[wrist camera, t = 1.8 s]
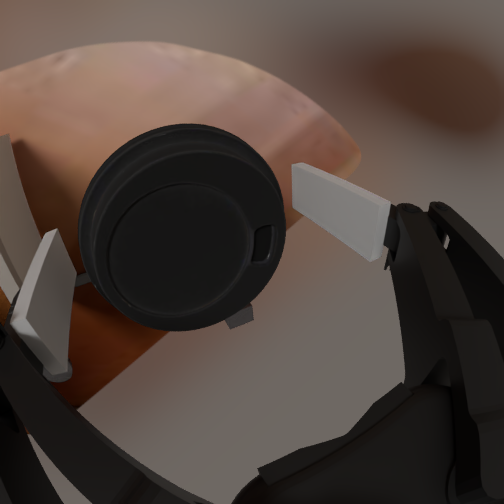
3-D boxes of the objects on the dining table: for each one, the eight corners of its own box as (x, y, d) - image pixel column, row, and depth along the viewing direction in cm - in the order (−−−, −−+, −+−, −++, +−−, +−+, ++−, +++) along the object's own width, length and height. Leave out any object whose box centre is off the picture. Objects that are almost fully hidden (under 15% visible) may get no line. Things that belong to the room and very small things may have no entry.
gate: (60, 277, 21) (50, 336, 15) (48, 281, 20) (36, 340, 14) (10, 133, 13) (-35, 148, 7) (-3, 139, 13) (-49, 158, 7)
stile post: (193, 263, 28) (230, 329, 21) (190, 250, 27) (227, 315, 20) (211, 257, 29) (253, 320, 21) (209, 244, 28) (252, 305, 20)
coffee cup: (218, 188, 25) (318, 272, 14) (132, 240, 24) (162, 370, 12) (177, 98, 20) (263, 84, 8) (78, 155, 18) (22, 228, 7)
